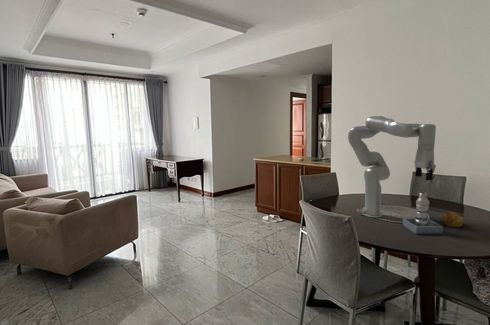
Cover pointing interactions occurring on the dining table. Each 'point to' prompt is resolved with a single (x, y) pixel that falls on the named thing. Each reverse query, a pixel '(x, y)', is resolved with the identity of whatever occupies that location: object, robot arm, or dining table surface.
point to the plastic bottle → (422, 210)
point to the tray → (423, 227)
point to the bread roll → (452, 219)
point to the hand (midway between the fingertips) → (423, 178)
